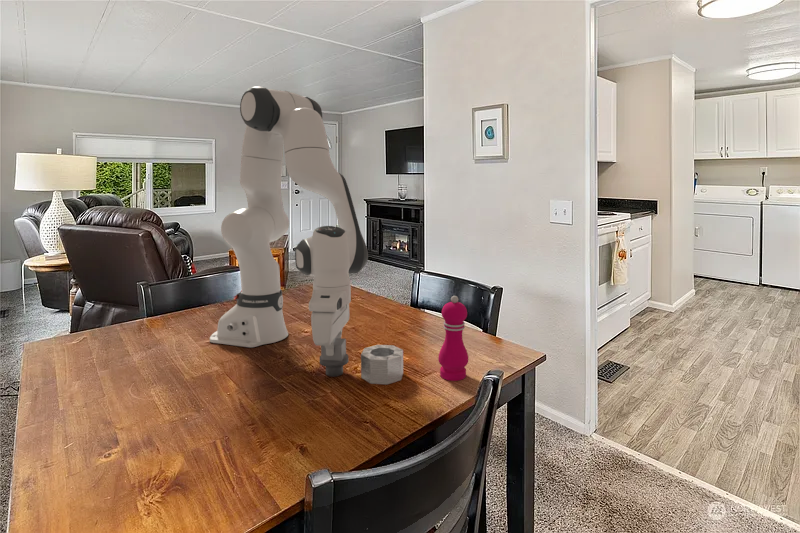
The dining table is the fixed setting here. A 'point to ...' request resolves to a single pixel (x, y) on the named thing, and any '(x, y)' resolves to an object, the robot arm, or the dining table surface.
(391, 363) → the grey octagonal nut
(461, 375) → the pepper mill
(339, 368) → the grey stepped piece
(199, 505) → the dining table surface
